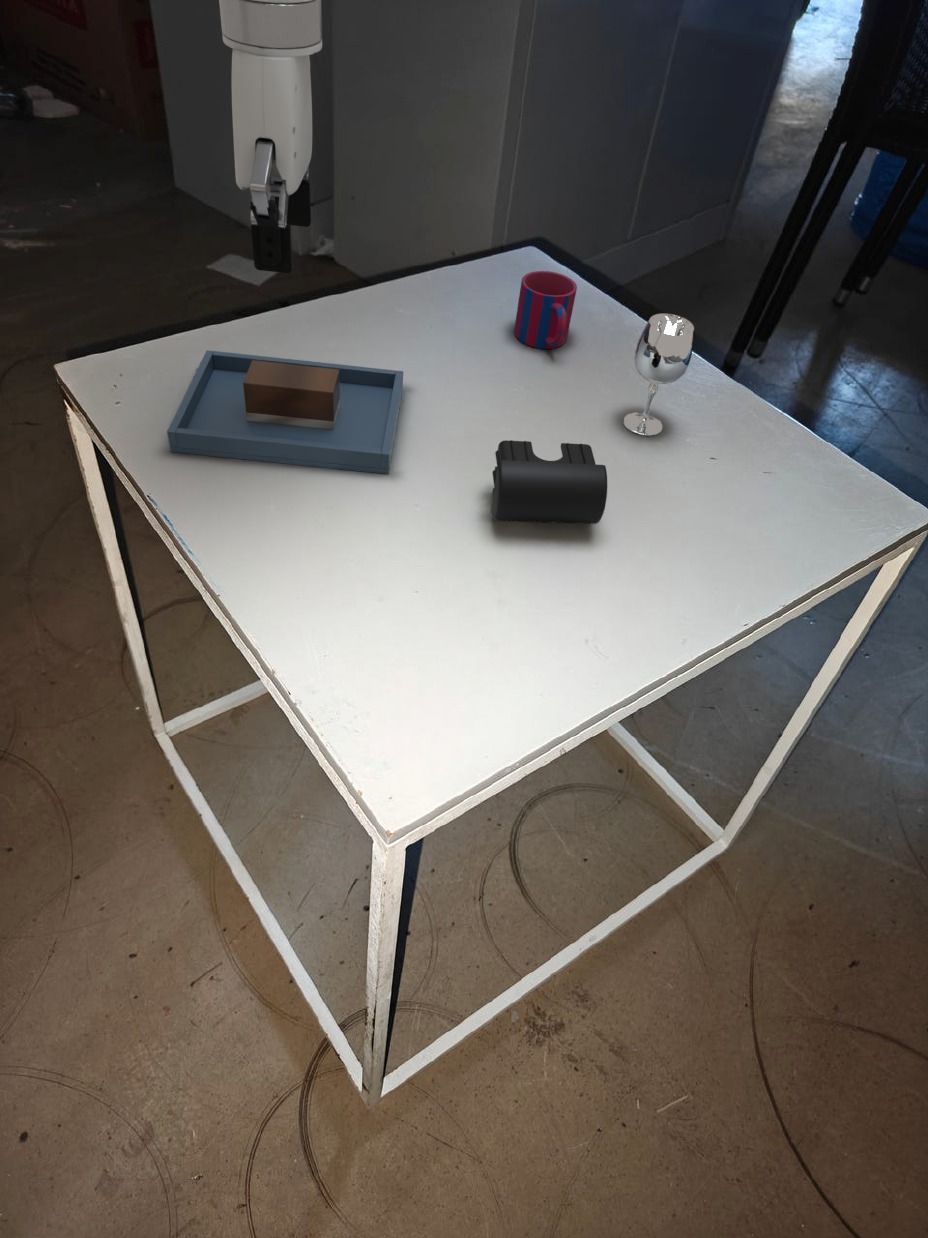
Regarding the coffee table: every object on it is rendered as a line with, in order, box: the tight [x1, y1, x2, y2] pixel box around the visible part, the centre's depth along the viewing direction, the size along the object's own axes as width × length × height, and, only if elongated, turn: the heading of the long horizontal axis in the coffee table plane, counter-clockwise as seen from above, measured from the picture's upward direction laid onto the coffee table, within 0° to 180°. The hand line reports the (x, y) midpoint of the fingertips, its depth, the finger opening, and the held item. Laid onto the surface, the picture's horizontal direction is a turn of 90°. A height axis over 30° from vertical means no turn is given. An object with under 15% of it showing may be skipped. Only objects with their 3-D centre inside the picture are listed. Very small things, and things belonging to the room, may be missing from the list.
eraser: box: [243, 360, 340, 430], centre depth 89 cm, size 9×4×4 cm, turn 88°
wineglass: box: [622, 313, 695, 437], centre depth 92 cm, size 6×6×12 cm
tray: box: [166, 349, 404, 475], centre depth 90 cm, size 22×16×2 cm
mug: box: [513, 270, 578, 350], centre depth 105 cm, size 7×10×7 cm
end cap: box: [490, 439, 608, 525], centre depth 81 cm, size 10×7×7 cm
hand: (284, 246), depth 77 cm, fingers open, 9 cm apart
